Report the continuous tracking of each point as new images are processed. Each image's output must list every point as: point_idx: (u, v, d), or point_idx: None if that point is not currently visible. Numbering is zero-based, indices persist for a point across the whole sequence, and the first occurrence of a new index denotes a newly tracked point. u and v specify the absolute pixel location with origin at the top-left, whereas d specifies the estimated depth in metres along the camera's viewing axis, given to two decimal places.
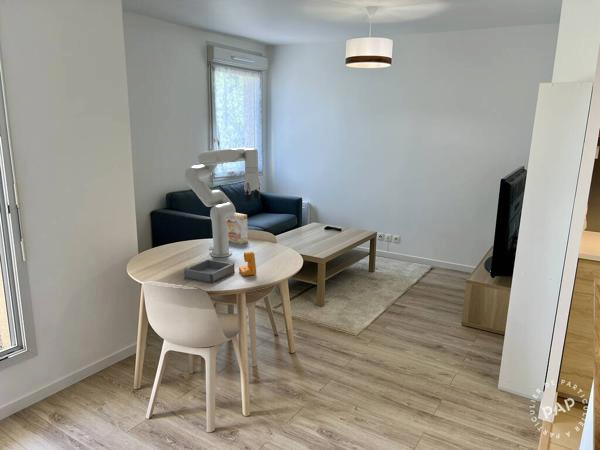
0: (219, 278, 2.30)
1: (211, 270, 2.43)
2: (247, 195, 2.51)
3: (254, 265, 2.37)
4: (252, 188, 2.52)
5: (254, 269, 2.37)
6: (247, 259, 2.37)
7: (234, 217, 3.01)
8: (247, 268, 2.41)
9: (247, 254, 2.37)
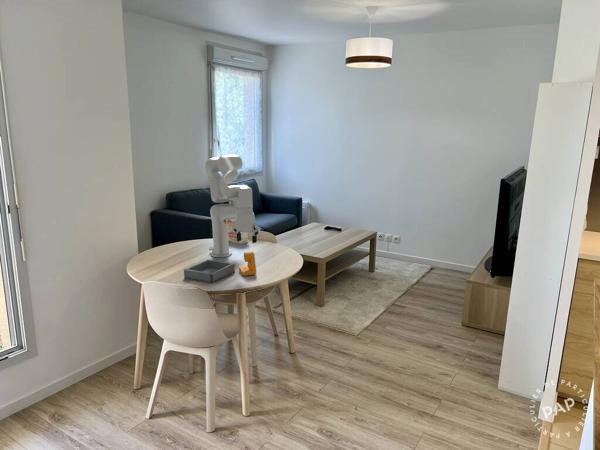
0: (219, 278, 2.30)
1: (211, 270, 2.43)
2: (255, 236, 2.34)
3: (254, 265, 2.37)
4: None
5: (254, 269, 2.37)
6: (247, 259, 2.37)
7: None
8: (247, 268, 2.41)
9: (247, 254, 2.37)
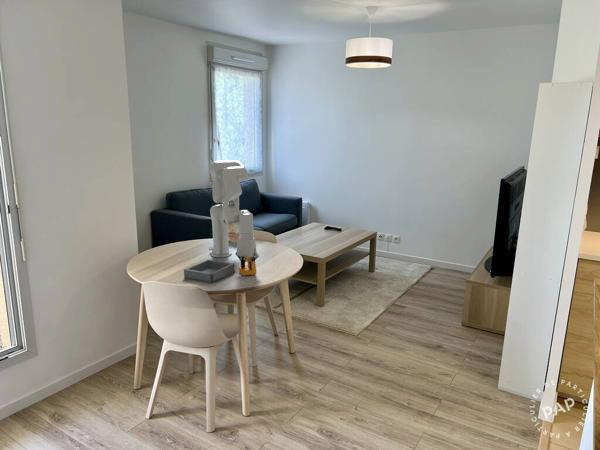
0: (219, 278, 2.30)
1: (211, 270, 2.43)
2: None
3: (254, 265, 2.37)
4: None
5: (254, 269, 2.37)
6: (247, 259, 2.37)
7: None
8: (247, 268, 2.41)
9: None
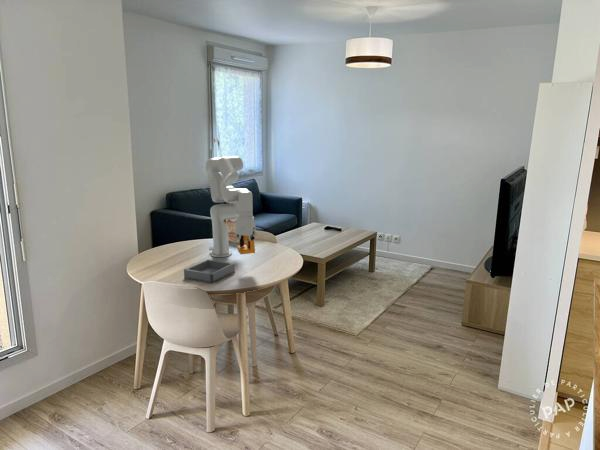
0: (219, 278, 2.30)
1: (211, 270, 2.43)
2: None
3: (253, 244, 2.35)
4: None
5: (253, 248, 2.35)
6: (246, 238, 2.35)
7: None
8: (246, 247, 2.39)
9: None
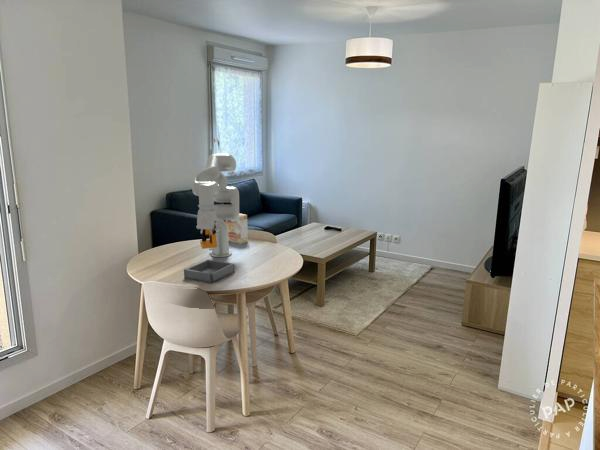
0: (219, 278, 2.30)
1: (211, 270, 2.43)
2: None
3: (214, 238, 2.30)
4: None
5: (214, 242, 2.30)
6: (207, 232, 2.30)
7: None
8: (208, 241, 2.34)
9: None
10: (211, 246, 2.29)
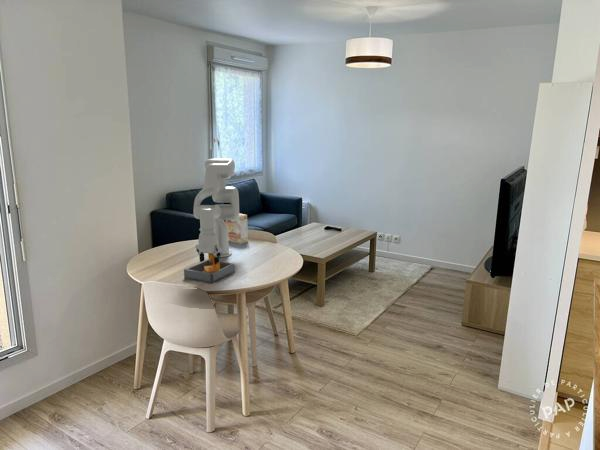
0: (219, 278, 2.30)
1: None
2: (218, 257, 2.33)
3: (218, 264, 2.34)
4: None
5: (218, 268, 2.33)
6: (211, 258, 2.33)
7: None
8: (212, 268, 2.37)
9: None
10: None
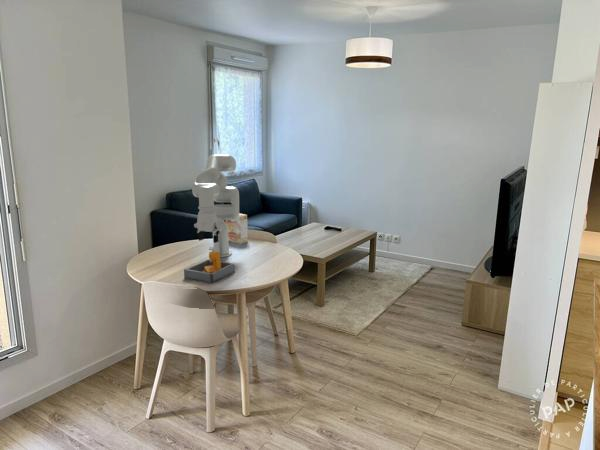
0: (219, 278, 2.30)
1: None
2: (217, 236, 2.31)
3: (219, 265, 2.34)
4: None
5: None
6: (212, 259, 2.34)
7: None
8: (212, 268, 2.37)
9: (212, 254, 2.34)
10: None
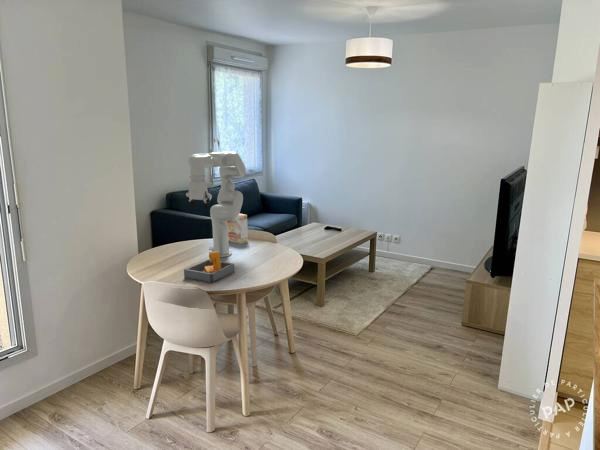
0: (219, 278, 2.30)
1: None
2: (207, 204, 2.42)
3: (219, 265, 2.34)
4: None
5: None
6: (212, 259, 2.34)
7: None
8: (212, 268, 2.37)
9: (212, 254, 2.34)
10: None
